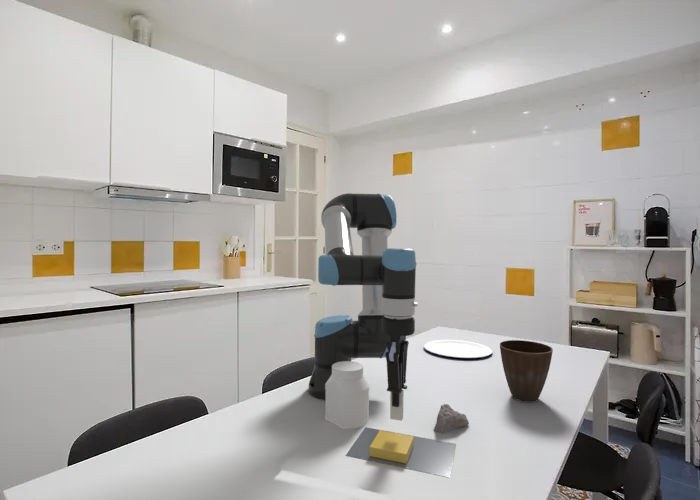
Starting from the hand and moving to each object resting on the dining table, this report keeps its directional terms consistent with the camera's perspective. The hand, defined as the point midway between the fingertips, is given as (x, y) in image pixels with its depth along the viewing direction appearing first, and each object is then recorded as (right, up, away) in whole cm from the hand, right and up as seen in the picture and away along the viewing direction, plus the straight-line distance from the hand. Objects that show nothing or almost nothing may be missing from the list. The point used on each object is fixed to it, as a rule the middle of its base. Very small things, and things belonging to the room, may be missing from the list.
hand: (396, 418), depth 90 cm
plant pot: (+43, -7, +31) cm, 54 cm away
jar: (-12, -7, +13) cm, 18 cm away
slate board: (+1, -7, -2) cm, 8 cm away
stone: (+14, -7, +10) cm, 19 cm away
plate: (+37, -6, +84) cm, 92 cm away
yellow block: (0, -5, +1) cm, 5 cm away
